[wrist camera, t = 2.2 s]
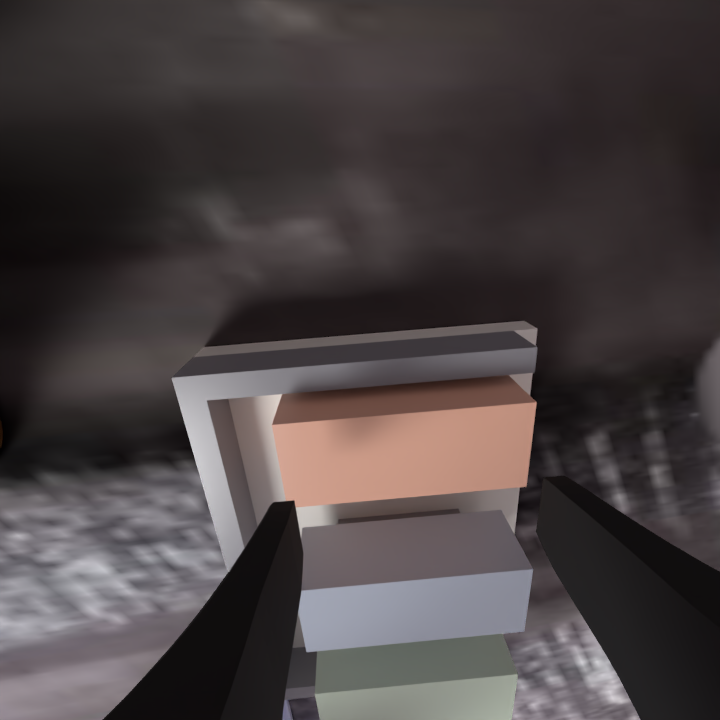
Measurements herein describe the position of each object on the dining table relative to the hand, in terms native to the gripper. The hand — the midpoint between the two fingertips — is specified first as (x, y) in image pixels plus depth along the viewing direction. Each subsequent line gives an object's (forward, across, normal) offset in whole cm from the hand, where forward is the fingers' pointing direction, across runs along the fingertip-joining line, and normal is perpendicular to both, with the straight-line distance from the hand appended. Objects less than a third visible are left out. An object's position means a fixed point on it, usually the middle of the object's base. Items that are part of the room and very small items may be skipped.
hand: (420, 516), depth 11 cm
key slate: (+4, 0, +6) cm, 8 cm away
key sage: (+5, 0, +13) cm, 14 cm away
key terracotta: (+6, 0, 0) cm, 6 cm away
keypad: (+7, +1, +6) cm, 10 cm away
